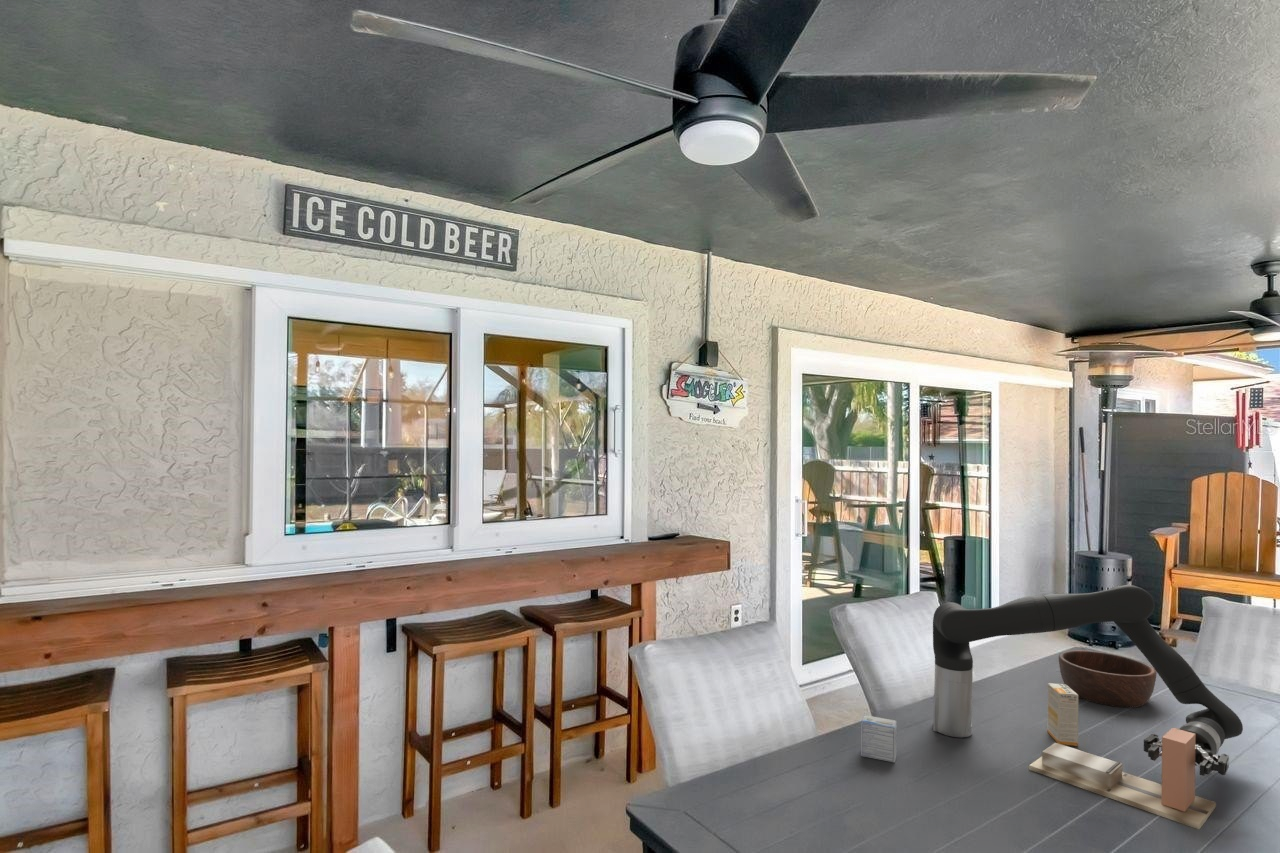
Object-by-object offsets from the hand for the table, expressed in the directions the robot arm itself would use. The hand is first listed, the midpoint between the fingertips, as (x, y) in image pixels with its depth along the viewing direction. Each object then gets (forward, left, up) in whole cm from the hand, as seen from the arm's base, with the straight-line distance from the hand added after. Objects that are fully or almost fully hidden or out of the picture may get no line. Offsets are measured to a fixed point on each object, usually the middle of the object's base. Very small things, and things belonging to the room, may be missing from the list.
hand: (1176, 763), depth 149 cm
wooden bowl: (-1, +74, -10) cm, 74 cm away
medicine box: (-59, -2, -10) cm, 60 cm away
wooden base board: (-9, +6, -10) cm, 15 cm away
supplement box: (-17, +31, -10) cm, 37 cm away
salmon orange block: (+1, +2, -9) cm, 9 cm away
